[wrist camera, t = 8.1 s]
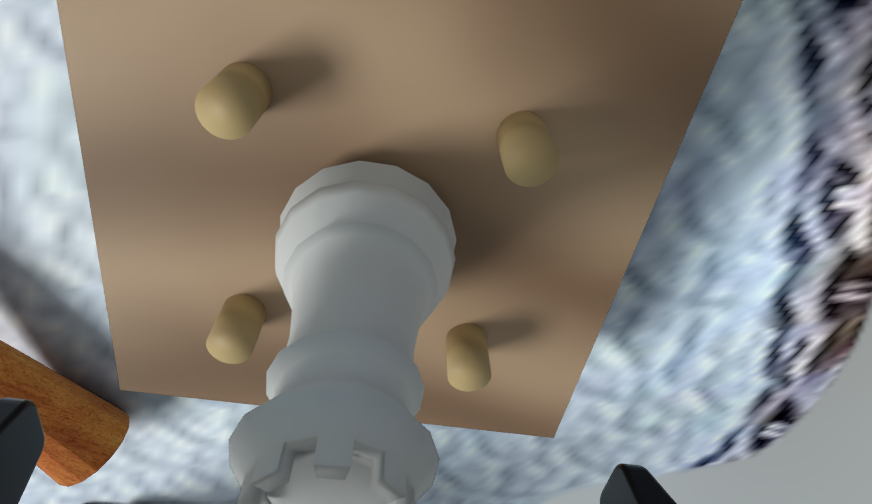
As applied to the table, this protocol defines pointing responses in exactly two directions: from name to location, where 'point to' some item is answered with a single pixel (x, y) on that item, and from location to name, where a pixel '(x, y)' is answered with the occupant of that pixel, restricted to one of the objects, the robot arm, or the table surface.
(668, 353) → the table surface
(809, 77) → the table surface
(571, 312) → the peg board
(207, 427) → the table surface
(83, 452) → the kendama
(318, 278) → the rook chess piece
